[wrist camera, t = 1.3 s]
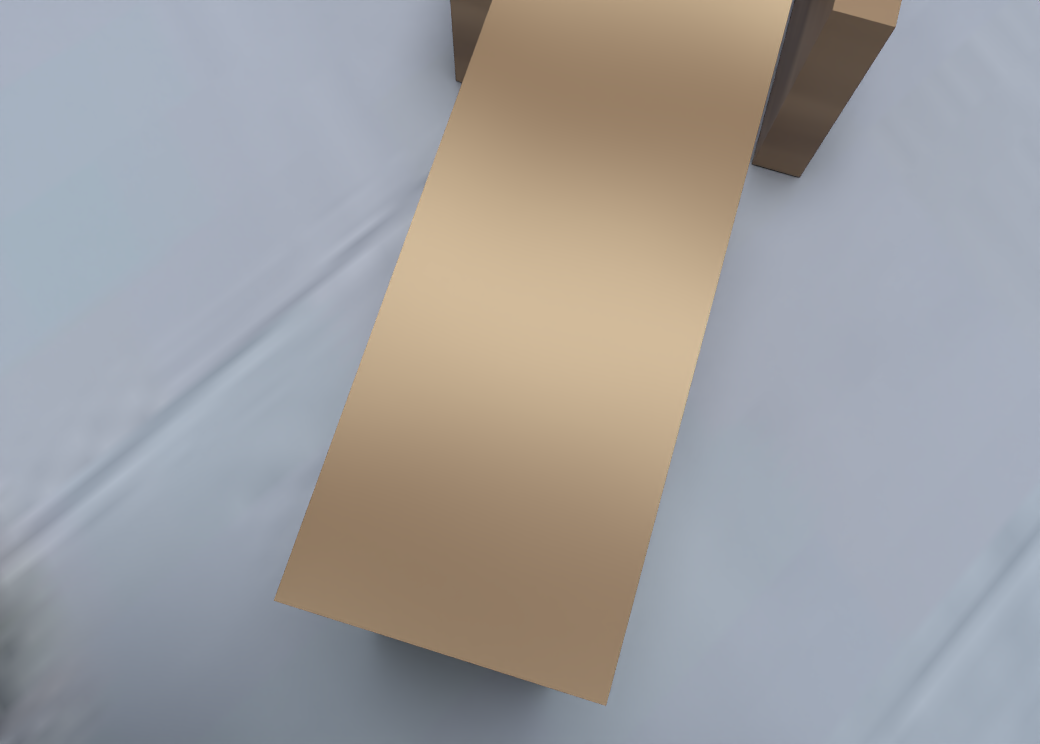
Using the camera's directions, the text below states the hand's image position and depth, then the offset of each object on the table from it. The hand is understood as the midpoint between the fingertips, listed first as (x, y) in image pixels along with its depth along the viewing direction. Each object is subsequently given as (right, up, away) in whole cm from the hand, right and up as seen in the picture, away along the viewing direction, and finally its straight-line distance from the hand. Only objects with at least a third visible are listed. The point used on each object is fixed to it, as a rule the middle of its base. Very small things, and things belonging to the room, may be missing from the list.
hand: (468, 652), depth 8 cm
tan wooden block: (+1, +2, +15) cm, 15 cm away
